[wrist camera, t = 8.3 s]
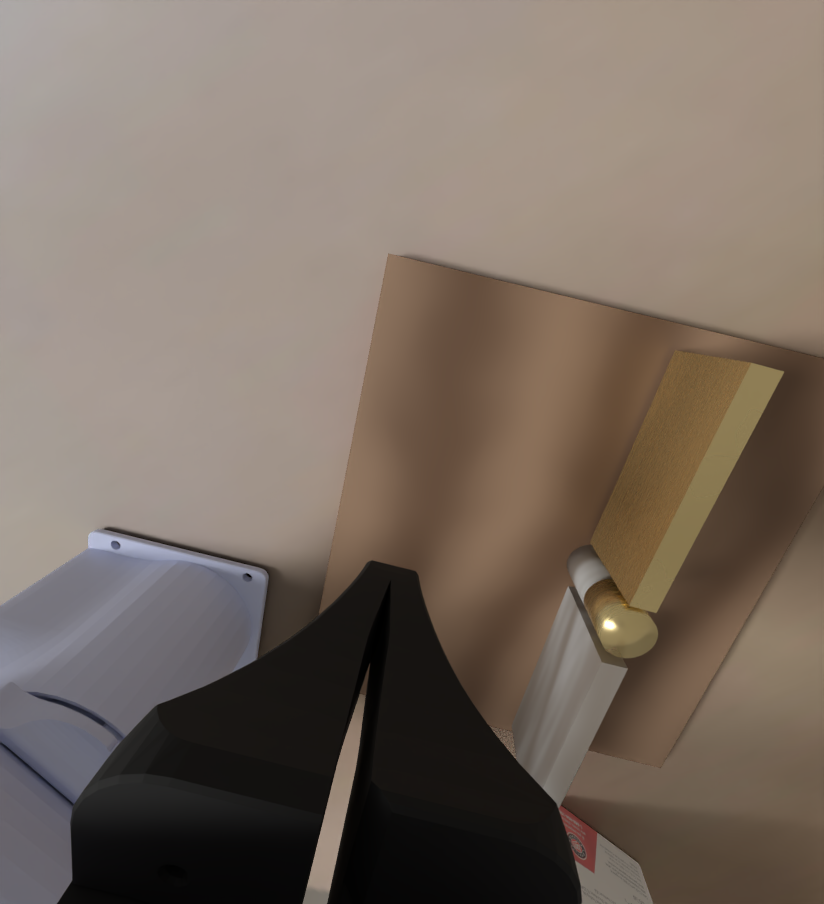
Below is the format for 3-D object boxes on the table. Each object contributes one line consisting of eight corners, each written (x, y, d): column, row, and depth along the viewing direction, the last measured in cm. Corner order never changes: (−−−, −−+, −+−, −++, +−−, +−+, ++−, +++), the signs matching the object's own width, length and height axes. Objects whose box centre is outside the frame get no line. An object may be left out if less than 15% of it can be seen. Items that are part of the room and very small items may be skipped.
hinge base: (310, 669, 25) (272, 767, 19) (390, 256, 18) (366, 231, 12) (654, 753, 25) (710, 875, 19) (869, 371, 18) (1051, 396, 12)
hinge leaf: (561, 579, 20) (592, 649, 16) (662, 346, 17) (734, 358, 13) (603, 590, 20) (644, 664, 16) (711, 360, 17) (800, 376, 13)
